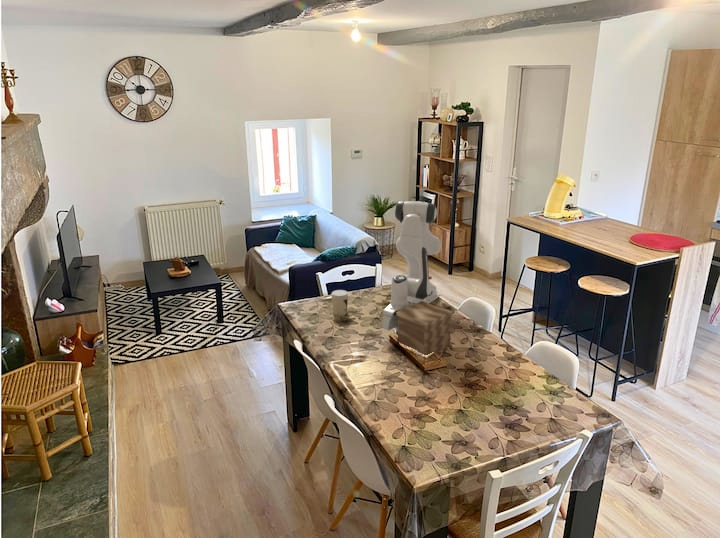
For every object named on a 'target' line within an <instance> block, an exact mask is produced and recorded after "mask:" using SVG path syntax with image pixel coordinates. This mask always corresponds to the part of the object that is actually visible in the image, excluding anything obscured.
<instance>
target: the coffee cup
mask: <svg viewBox="0 0 720 538" xmlns="http://www.w3.org/2000/svg"><path fill="white" fill-rule="evenodd" d="M330 295H331V303H332V312H333V313H332V314H334V315H336V316H344V315H346V314H348V300H349V298H348V297H349V293H348V291H347V290H344V289H336V290H333V291H332V292H331V294H330Z"/></svg>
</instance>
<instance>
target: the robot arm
mask: <svg viewBox="0 0 720 538" xmlns="http://www.w3.org/2000/svg"><path fill="white" fill-rule="evenodd" d="M394 217H395V218H396V220H398V221H399V222H400V224H401V227H400V232H399V233H400V234H399V237H398V238H397V239H396V241H395V247H396V250H397V252H398V253H399V254H400V255H402V256H403V258H404V259H405V260H406V263H407V274H408V275H407V276H406V275H404V274H398V275H395V276H393V277H392V279H391V284H390V296H391V298H390V303H389V304H388V305H387V306H386V307H385V308H384V309H383V311H382V313H383V317H382V328H383V329H384V330H386V331H390V330H392V329H395V333H396V332H397V331H398V315H396V312H398V311H400V310H402V309H405V308H407V307H409V306H412V305H414V304H416V303H419V302H421V301H423V302H426V303H429V304H431V303H432V302H434V301H436V299H438V298H439V297H441V293H440V292H438V291H437V285H435V284H434V283H432V282H430V281H431V280H432V279H433V276H432V275H430V274H429V273H430V272H429V271H430V269H429V259H428V258H429V257H428V256H433V255H438V253H440V252H441V250H442V241H441V240H440V238H439V237H437V236H436V235H434V234H433V233H432V232H431V230H430V225H429V224H432V223H434V222H435V220H436V218H437V217H438V210H437V206H436V205H435V204H434V203H431V202H425V201H420V200H417V201H416V200H415V201H411V200H409V201H407V200H400V201H398V202H397V203H396V205H395V207H394Z"/></svg>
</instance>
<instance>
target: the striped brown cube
mask: <svg viewBox="0 0 720 538" xmlns="http://www.w3.org/2000/svg"><path fill="white" fill-rule="evenodd" d="M396 315H398V338H397V343H398V342H400V343H402V344H404V345H406V346H408V347H411V348H413V349H415V350H417V351H418V352H420V353H422V354H424V355H428V354H430V353H432V352H434V353H436V354H437V353H439V352H442V351H443V350H445V349H447V348H448V347H450V346H451V330H452V316H453V311H451V310H448V309H445V308H443V307H439V306H437V305H433V304H431V303H426V302H423V301H421V302H419V303H413V305H412V306H409V307H407V308H405V309H402V310H400V311H398V312H396Z"/></svg>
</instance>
